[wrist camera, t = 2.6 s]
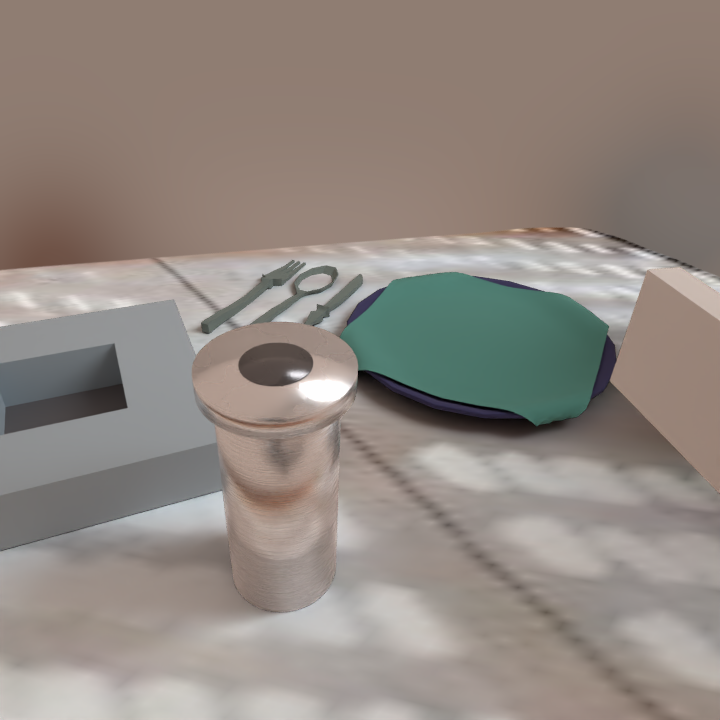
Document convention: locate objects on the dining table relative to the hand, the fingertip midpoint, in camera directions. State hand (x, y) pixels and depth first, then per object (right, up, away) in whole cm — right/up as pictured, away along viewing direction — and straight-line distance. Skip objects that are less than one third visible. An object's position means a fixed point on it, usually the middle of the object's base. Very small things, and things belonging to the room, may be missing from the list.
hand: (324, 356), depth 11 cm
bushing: (-3, -10, +19) cm, 21 cm away
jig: (-17, -4, +26) cm, 31 cm away
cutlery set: (+5, +2, +37) cm, 38 cm away
